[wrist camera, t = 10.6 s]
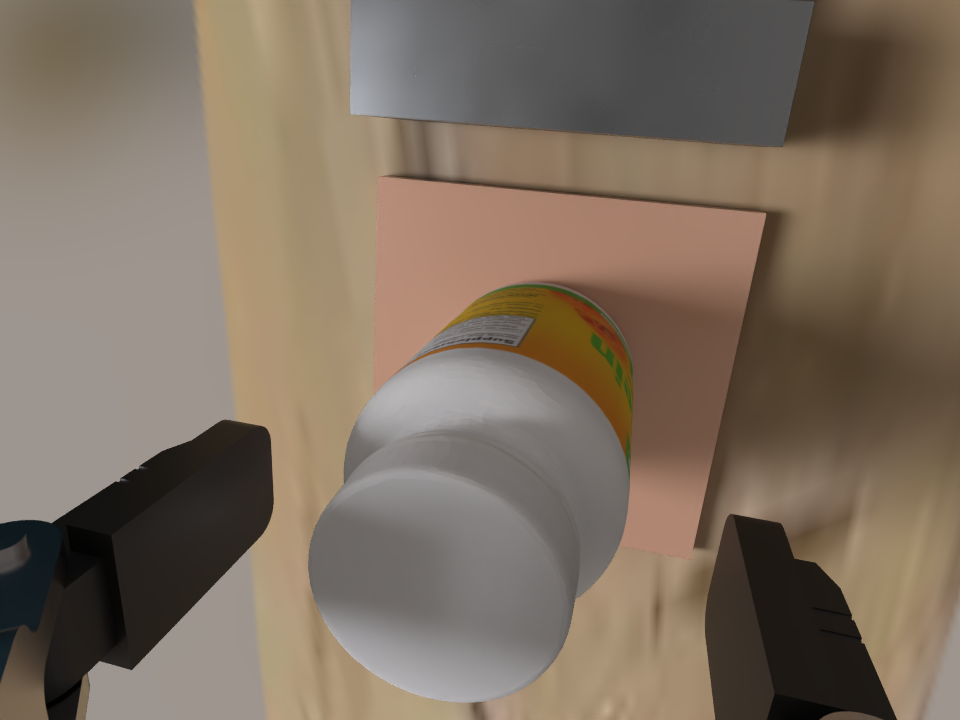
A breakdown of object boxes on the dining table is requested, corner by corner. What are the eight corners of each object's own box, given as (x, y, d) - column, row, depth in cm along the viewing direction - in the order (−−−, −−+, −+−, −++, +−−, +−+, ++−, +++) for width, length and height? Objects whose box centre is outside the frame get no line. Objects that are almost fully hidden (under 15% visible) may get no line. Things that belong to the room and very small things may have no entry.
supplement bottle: (652, 444, 18) (661, 744, 9) (472, 469, 20) (329, 744, 11) (612, 257, 17) (575, 391, 8) (423, 300, 18) (210, 453, 9)
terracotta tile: (385, 175, 18) (377, 176, 17) (762, 211, 16) (766, 213, 15) (378, 486, 21) (371, 496, 21) (689, 548, 19) (690, 560, 19)
